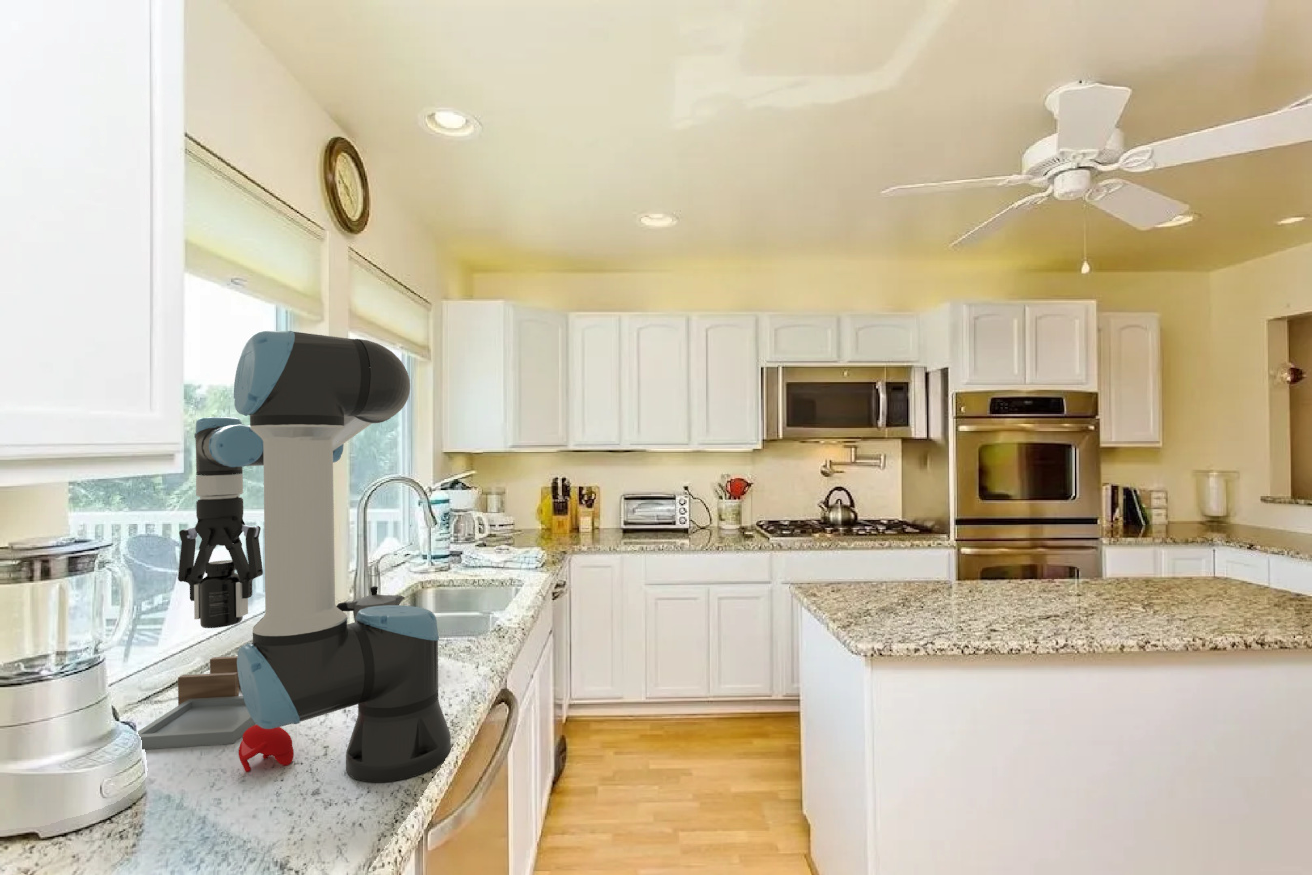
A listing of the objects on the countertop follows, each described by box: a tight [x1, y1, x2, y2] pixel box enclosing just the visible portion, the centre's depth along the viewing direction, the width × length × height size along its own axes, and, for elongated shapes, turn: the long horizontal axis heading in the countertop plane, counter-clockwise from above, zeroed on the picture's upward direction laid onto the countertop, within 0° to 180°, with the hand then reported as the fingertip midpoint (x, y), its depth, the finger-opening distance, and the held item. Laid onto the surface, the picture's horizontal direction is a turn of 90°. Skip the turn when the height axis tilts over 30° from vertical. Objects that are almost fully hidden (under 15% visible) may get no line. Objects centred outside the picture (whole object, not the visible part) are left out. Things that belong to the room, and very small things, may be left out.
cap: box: [238, 724, 295, 773], centre depth 98 cm, size 8×6×6 cm
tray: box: [137, 695, 257, 750], centre depth 112 cm, size 16×16×2 cm
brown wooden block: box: [177, 655, 241, 706], centre depth 125 cm, size 11×10×6 cm
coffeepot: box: [336, 585, 405, 623], centre depth 139 cm, size 15×9×18 cm, turn 134°
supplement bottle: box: [199, 559, 244, 629], centre depth 123 cm, size 7×7×12 cm
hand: (221, 616), depth 123 cm, fingers closed on supplement bottle, 7 cm apart
